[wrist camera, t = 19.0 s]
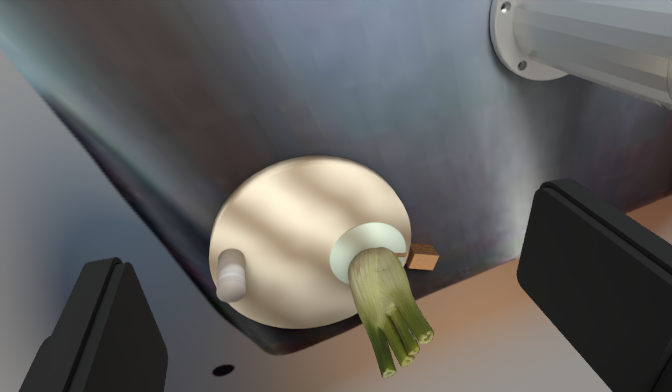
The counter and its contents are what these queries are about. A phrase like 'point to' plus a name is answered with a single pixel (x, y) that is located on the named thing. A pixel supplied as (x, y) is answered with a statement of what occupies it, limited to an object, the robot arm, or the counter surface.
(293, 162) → the serving platter
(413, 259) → the wooden block
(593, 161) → the counter surface
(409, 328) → the fennel bulb
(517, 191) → the counter surface
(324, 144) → the counter surface
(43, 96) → the counter surface
